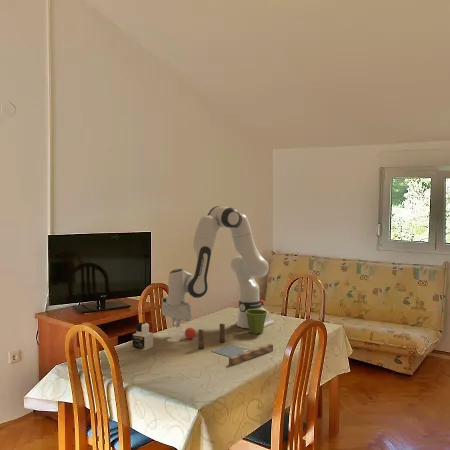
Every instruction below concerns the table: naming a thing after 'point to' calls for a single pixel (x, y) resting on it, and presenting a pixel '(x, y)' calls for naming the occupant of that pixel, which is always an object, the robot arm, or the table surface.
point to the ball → (190, 333)
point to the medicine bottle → (142, 337)
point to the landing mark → (230, 350)
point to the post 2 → (222, 333)
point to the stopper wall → (250, 354)
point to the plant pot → (256, 320)
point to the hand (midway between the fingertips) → (176, 326)
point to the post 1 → (201, 339)
